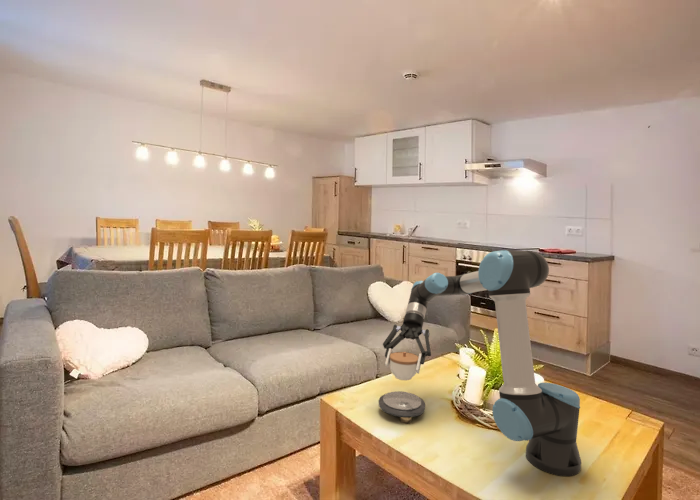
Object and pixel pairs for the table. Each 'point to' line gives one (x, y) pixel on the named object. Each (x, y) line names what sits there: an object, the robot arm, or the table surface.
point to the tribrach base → (402, 405)
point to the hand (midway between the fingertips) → (401, 368)
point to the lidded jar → (403, 365)
